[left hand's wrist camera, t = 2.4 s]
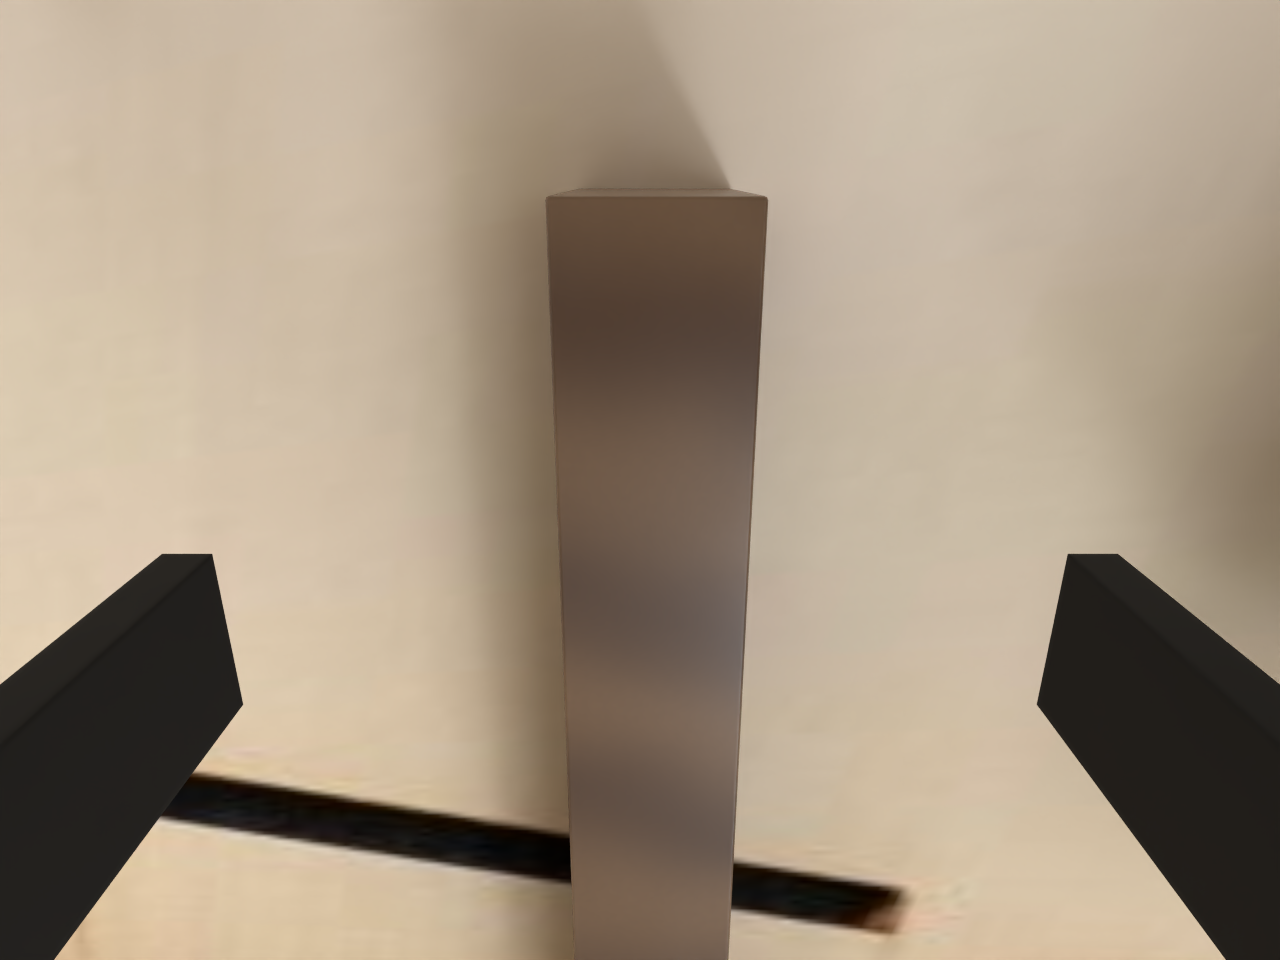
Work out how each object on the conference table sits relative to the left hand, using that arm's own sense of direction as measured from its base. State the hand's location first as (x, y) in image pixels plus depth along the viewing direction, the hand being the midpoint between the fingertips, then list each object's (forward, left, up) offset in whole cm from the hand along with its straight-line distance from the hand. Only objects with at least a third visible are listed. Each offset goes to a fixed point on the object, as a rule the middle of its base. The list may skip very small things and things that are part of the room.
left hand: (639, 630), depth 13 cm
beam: (+19, +21, -13) cm, 32 cm away
